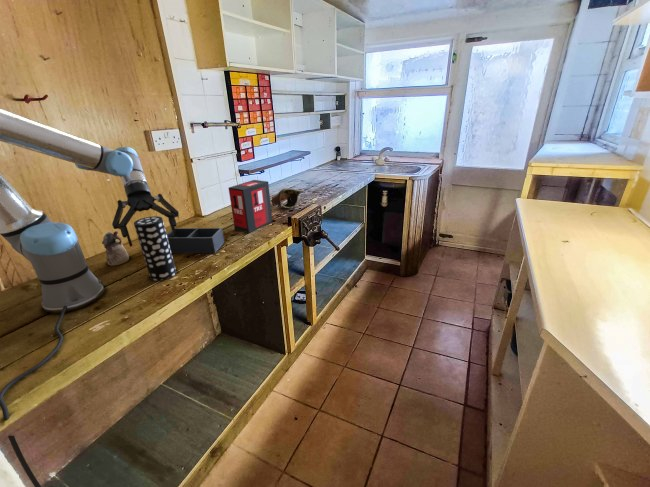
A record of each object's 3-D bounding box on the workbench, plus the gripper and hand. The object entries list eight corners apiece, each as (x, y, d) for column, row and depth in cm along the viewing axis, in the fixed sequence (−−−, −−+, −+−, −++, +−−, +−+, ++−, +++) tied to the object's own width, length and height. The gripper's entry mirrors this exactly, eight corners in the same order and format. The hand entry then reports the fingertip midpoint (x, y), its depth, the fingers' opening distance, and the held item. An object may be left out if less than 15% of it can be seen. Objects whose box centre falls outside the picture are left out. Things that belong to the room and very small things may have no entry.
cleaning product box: (249, 232, 142) (243, 189, 134) (234, 229, 146) (228, 187, 138) (272, 221, 155) (268, 181, 147) (258, 218, 159) (254, 179, 151)
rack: (215, 253, 123) (212, 237, 121) (165, 253, 125) (161, 238, 122) (224, 242, 133) (221, 227, 130) (177, 242, 134) (174, 228, 132)
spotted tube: (166, 281, 104) (150, 225, 96) (144, 279, 106) (127, 224, 98) (181, 269, 112) (167, 216, 104) (160, 267, 113) (146, 215, 105)
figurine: (110, 258, 121) (100, 230, 116) (130, 255, 124) (122, 227, 119) (105, 267, 115) (95, 237, 110) (127, 263, 117) (118, 234, 113)
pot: (282, 184, 186) (298, 179, 172) (292, 200, 190) (308, 197, 176) (260, 199, 178) (275, 195, 163) (271, 216, 182) (286, 214, 167)
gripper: (174, 187, 120) (191, 235, 115) (96, 199, 107) (112, 253, 102) (173, 175, 113) (192, 225, 108) (91, 187, 101) (108, 244, 96)
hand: (153, 239), depth 105 cm, fingers open, 13 cm apart
